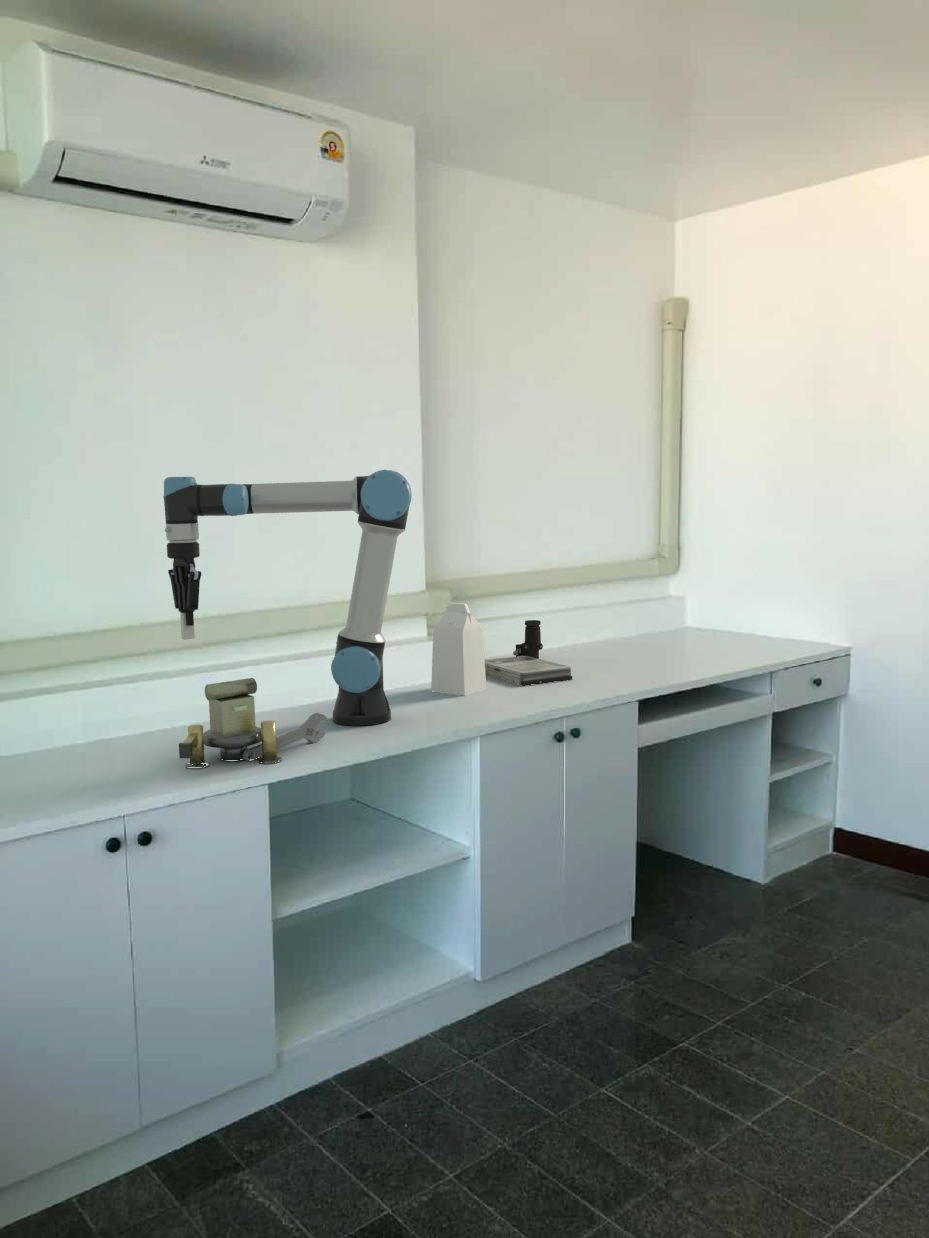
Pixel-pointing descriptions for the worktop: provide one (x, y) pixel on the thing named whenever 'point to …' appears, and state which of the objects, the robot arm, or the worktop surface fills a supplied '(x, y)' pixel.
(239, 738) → the surveying level
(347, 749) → the worktop surface
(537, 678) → the hard drive
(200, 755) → the lever
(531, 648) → the scope
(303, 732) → the adjustable wrench
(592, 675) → the worktop surface
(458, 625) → the milk
